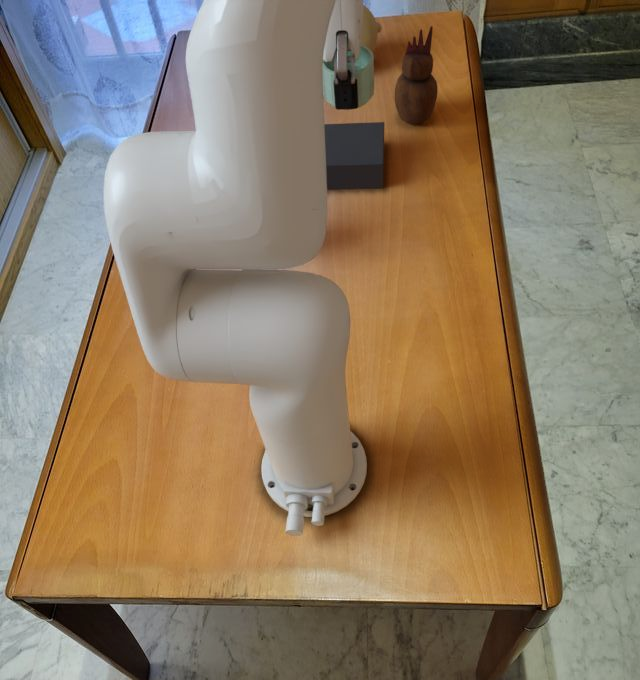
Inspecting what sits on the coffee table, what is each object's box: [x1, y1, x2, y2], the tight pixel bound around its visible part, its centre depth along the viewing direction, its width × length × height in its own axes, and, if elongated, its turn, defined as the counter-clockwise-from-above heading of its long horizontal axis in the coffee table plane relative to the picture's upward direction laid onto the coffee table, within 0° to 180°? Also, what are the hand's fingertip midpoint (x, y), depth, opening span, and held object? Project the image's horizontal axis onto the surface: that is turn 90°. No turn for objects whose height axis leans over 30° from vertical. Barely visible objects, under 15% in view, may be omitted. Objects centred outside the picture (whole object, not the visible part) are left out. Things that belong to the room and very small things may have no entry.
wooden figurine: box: [394, 26, 439, 126], centre depth 101 cm, size 7×6×15 cm
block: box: [324, 121, 385, 191], centre depth 100 cm, size 10×10×4 cm
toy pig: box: [361, 4, 383, 54], centre depth 112 cm, size 10×12×11 cm
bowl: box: [323, 45, 375, 111], centre depth 90 cm, size 7×7×6 cm
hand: (348, 89), depth 91 cm, fingers closed on bowl, 7 cm apart
